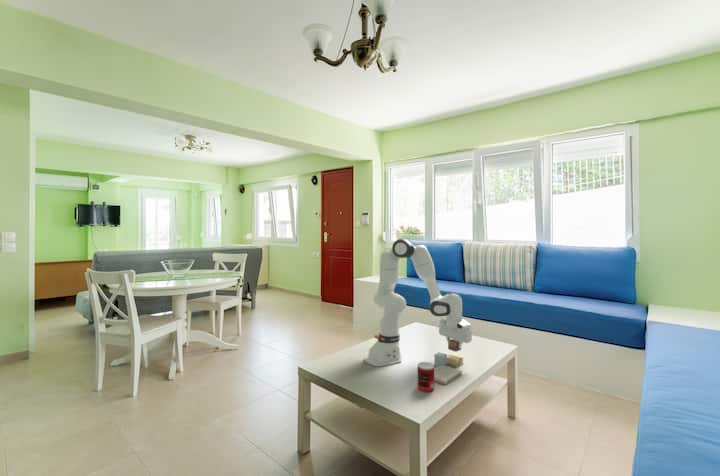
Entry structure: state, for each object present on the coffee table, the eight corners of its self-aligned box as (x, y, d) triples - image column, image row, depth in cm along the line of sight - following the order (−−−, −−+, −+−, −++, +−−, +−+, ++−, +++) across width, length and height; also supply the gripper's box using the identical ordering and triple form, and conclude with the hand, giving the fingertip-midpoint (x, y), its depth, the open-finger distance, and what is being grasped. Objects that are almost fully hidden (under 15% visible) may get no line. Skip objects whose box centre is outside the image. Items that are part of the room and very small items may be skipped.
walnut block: (455, 351, 176) (455, 342, 176) (448, 349, 180) (448, 340, 180) (461, 349, 179) (461, 340, 179) (453, 347, 183) (453, 338, 183)
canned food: (431, 384, 154) (431, 361, 154) (436, 392, 146) (436, 368, 146) (416, 384, 154) (416, 361, 154) (419, 392, 146) (419, 368, 146)
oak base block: (456, 367, 175) (456, 360, 175) (445, 363, 180) (445, 356, 180) (463, 364, 180) (463, 356, 179) (451, 360, 185) (451, 353, 185)
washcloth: (463, 375, 166) (463, 369, 166) (445, 387, 153) (445, 380, 153) (442, 368, 174) (442, 362, 174) (424, 379, 161) (424, 373, 161)
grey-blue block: (442, 367, 174) (442, 356, 174) (434, 365, 177) (434, 354, 177) (446, 364, 178) (446, 354, 178) (438, 362, 181) (438, 352, 181)
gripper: (436, 319, 186) (436, 342, 186) (466, 327, 169) (466, 353, 170) (443, 317, 190) (443, 340, 190) (473, 325, 173) (473, 350, 173)
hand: (454, 346), depth 180 cm, fingers closed on walnut block, 5 cm apart
